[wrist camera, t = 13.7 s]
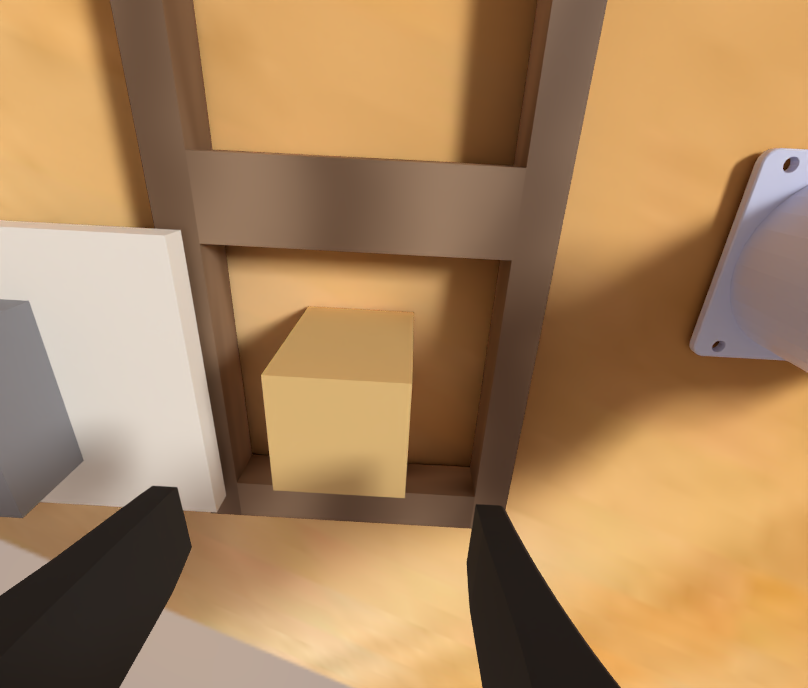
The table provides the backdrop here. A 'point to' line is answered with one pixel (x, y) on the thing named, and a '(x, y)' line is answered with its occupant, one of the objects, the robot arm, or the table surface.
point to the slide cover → (101, 370)
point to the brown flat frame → (363, 240)
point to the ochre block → (341, 403)
